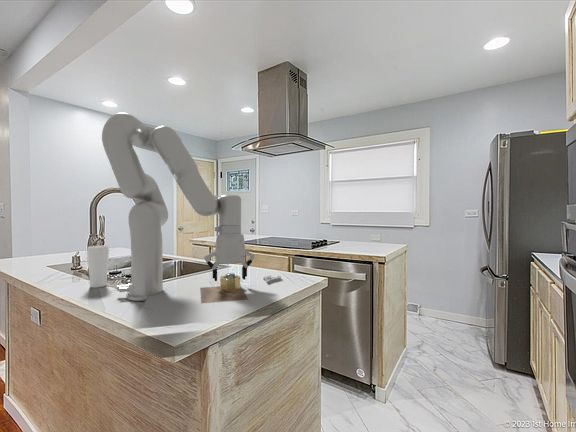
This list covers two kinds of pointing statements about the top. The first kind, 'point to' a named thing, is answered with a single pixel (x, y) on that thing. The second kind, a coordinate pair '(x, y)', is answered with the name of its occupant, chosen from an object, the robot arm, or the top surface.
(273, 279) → the adjustable wrench
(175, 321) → the top surface
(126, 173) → the robot arm
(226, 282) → the brass ring
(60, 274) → the top surface
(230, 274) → the steel post
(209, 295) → the walnut board
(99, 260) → the drinking glass
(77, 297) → the top surface
